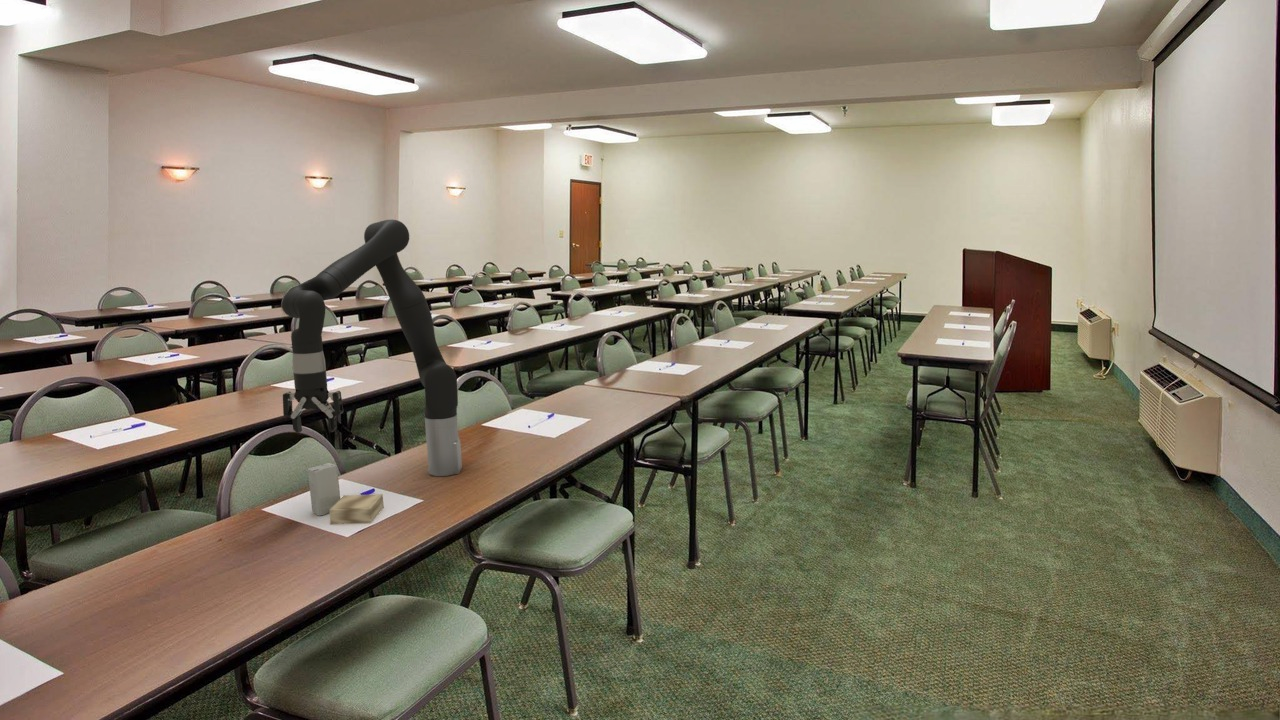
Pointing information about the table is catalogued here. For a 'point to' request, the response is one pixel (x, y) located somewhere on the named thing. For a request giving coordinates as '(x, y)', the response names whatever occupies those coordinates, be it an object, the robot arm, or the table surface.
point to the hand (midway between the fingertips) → (315, 431)
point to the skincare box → (323, 487)
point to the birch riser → (356, 509)
